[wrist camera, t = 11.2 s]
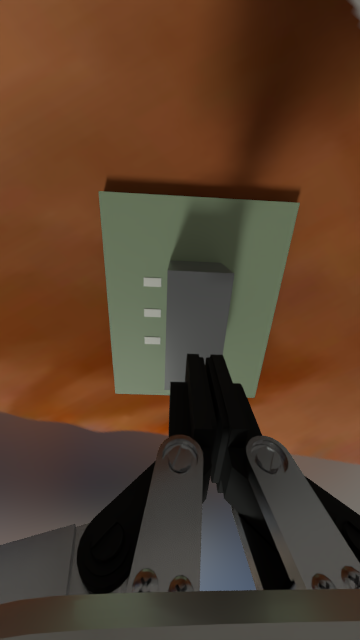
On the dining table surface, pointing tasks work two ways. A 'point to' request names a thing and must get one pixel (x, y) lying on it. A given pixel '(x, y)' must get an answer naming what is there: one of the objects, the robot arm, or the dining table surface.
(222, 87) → the dining table surface
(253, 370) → the board
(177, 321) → the plug housing
